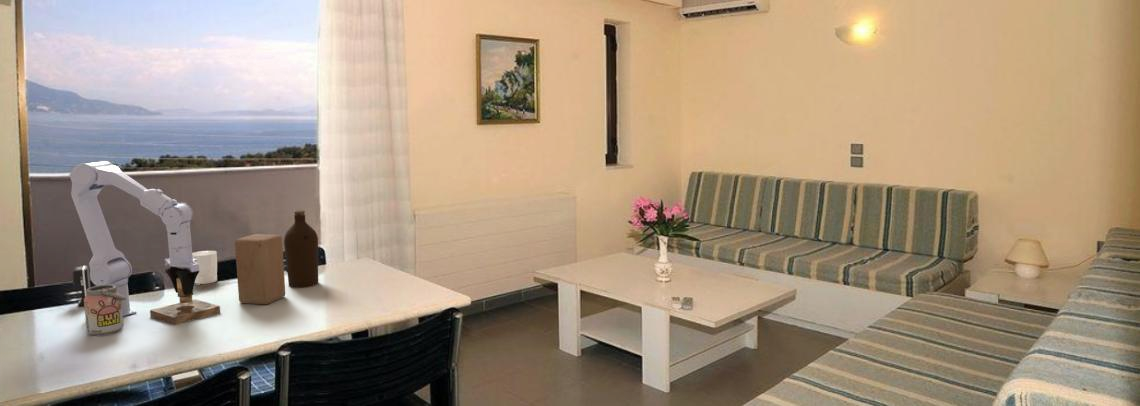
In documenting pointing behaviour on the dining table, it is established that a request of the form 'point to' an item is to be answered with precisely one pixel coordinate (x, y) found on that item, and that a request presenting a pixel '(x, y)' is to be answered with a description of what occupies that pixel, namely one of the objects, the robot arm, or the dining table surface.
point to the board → (184, 311)
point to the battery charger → (81, 281)
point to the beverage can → (103, 310)
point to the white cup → (206, 266)
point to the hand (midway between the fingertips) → (184, 292)
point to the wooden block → (260, 268)
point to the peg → (181, 295)
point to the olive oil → (301, 253)
